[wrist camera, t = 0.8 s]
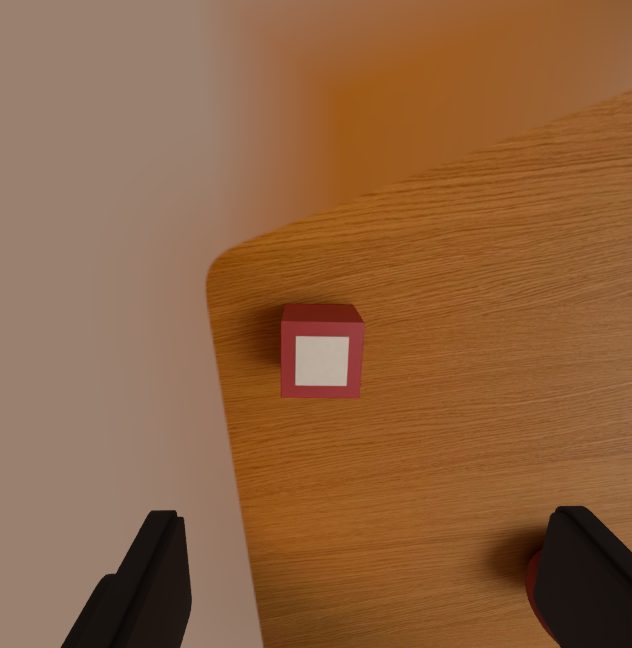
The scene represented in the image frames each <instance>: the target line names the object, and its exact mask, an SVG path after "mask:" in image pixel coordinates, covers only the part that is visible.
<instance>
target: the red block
mask: <svg viewBox="0 0 632 648" xmlns="http://www.w3.org/2000/svg"><path fill="white" fill-rule="evenodd" d="M363 339H364V321H363V320H362V318H361V316H360V315H359V313H358V312H357V310H356V308H355V307H354V305H330V304H285V308H284V312H283V316H282V320H281V397H294V398H360V386H361V370H362V354H363Z"/></svg>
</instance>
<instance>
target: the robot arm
mask: <svg viewBox="0 0 632 648" xmlns="http://www.w3.org/2000/svg"><path fill="white" fill-rule="evenodd" d="M533 598H534V602H535V605H536V607H537V609H538V611H539V612H540V614H541V616H542V617H543V619H544V621H545V622H546V624H547V626H548V627H549V629H550V630H551V632H552V634H553V635H554V637H555V639H556V640H557V642H558V644H559V645H560V647H561V648H632V552H631V551H630V550H629V549H628V548H627V547H626V546H625V545H624V544H623V543H622V542H621V541H620V540H619V539H618V538H617V537H616V536H615V535H614V534H613V533H612V532H611V531H610V530H609V529H608V528H607V527H606V526H605V525H604V524H603V523H602V522H601V521H600V520H599V519H598V518H597V517H596V516H595V515H594V514H593V513H592V512H591V511H590V510H588V509H587V508H586V507H583V506H559V507H557V508H556V510H555V513H552V514H551V516H550V519H549V524H548V528H547V532H546V537H545V541H544V546H543V550H542V554H541V559H540V563H539V567H538V572H537V576H536V581H535V585H534V589H533ZM191 603H192V596H191V585H190V575H189V565H188V555H187V544H186V536H185V524H184V518H183V517H177V512H176V511H175V510H167V511H166V510H161V511H151V512H150V513H149V514H148V516H147V518H146V519H145V521H144V523H143V525H142V527H141V528H140V530H139V532H138V534H137V536H136V538H135V540H134V541H133V543H132V545H131V547H130V549H129V551H128V552H127V554H126V556H125V558H124V560H123V562H122V564H121V565H120V567H119V569H118V571H117V573H116V574H108V575H105V576H104V577H103V578H102V579H101V580H100V582H99V583H98V584H97V586H96V588H95V590H94V591H93V593H92V594H91V596H90V598H89V600H88V601H87V603H86V605H85V607H84V608H83V610H82V612H81V614H80V615H79V617H78V619H77V620H76V622H75V624H74V626H73V627H72V629H71V631H70V632H69V634H68V636H67V638H66V639H65V641H64V643H63V644H62V646H61V648H180V646H181V643H182V640H183V636H184V633H185V629H186V626H187V623H188V619H189V616H190V611H191Z"/></svg>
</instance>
